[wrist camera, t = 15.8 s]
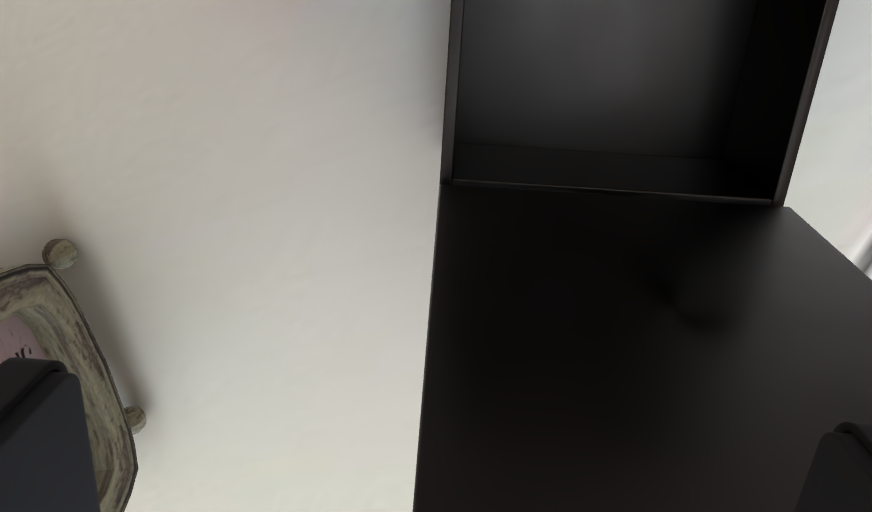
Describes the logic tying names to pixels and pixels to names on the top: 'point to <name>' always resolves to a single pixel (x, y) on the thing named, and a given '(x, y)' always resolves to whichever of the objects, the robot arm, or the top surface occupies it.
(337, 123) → the top surface
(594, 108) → the black shallow rectangular box
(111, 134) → the top surface
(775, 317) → the lid
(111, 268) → the top surface
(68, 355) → the tabletop clock
